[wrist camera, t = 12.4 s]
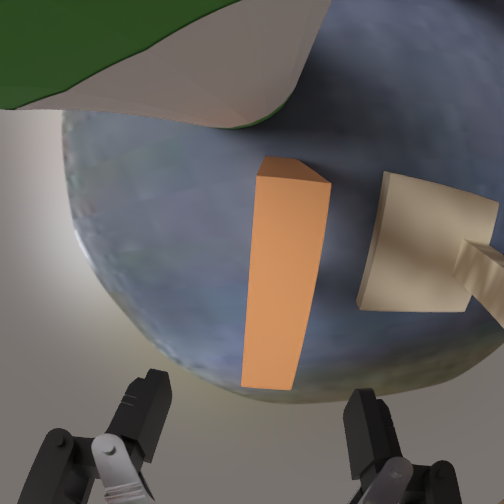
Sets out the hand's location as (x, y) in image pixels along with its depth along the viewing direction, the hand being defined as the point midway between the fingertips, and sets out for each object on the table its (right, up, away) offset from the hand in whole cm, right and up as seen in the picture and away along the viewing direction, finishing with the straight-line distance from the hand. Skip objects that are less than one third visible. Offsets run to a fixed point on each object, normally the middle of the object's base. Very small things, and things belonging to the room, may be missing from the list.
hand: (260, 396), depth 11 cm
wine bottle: (-1, +17, +4) cm, 18 cm away
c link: (+1, +8, +8) cm, 11 cm away
